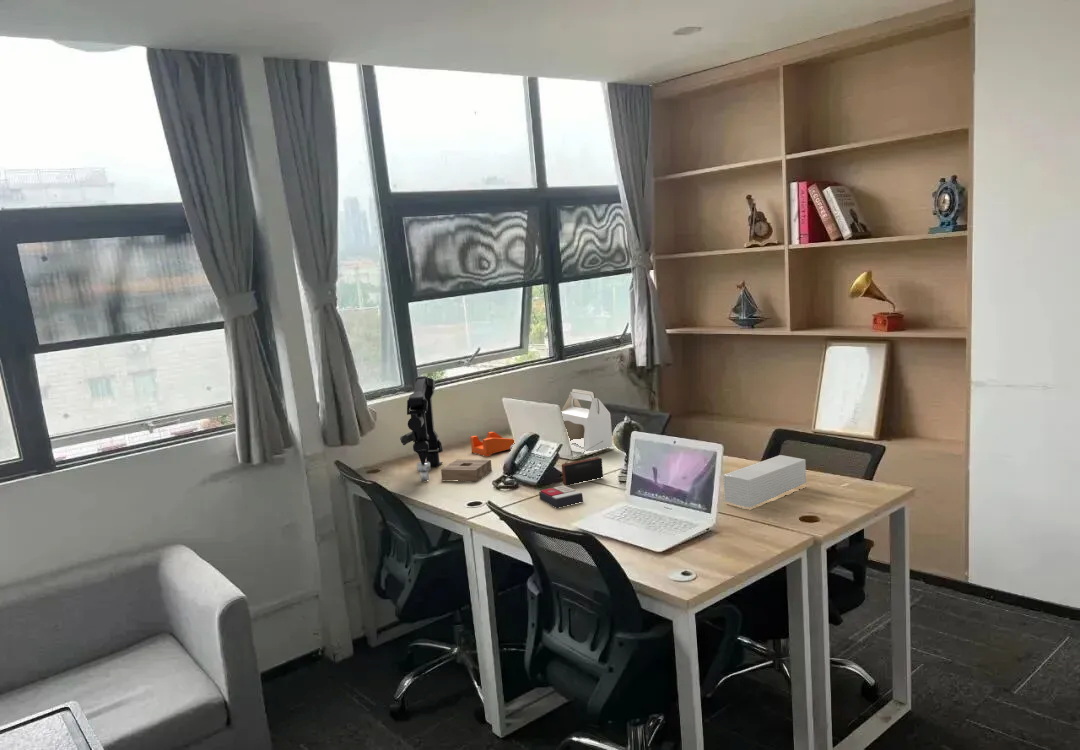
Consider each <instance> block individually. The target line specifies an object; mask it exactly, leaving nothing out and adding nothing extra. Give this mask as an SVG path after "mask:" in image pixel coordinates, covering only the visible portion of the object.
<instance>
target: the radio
mask: <svg viewBox="0 0 1080 750" xmlns="http://www.w3.org/2000/svg"><path fill="white" fill-rule="evenodd" d="M601 442H603V441H601ZM601 442H600V443H601ZM598 444H599V443H598ZM595 446H596V445H595ZM593 447H594V446H593ZM591 448H592V447H591ZM589 449H590V448H589ZM589 449H588V450H589ZM586 451H587V450H586ZM584 452H585V451H584ZM584 452H583V453H584ZM580 455H583V454H582V453H578V454H577V455H576V456H574V457H572V458H570V459H569V460H567V461H565V462H564V463H562V464H561V473H562V474H561V475H562V485H563V484H564V486H565V485H570V484H574V483H579V482H583V481H588V480H592V479H597V478H601V477H603V478H604V471H603V459H602V458H601V457H598V456H596V457H591V458H587V459H581V460H576V461H571V460H573V459H576V458H577V457H578V456H580Z"/></svg>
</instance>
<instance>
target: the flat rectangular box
mask: <svg viewBox="0 0 1080 750" xmlns="http://www.w3.org/2000/svg"><path fill="white" fill-rule="evenodd" d="M538 493H539V494H538V495H539V496H538V497H539V499H540V500H542V501H543V502H545V503H546V502H547V504H548V503H549V505H551V506H552V507H553V506H554V508H555V507H556V508H555V509H560V508H559V507H562V508H564V507H563V506H566V507H568V506H567V505H570V506H572V505H571V504H575V503H579V502H583V503H584V498H583V497H584V495H583V493H582V492H580V491H578V490H576V489H574V488H571V487H570V486H565V485H563V484H562V485H559V486H555V487H553V488H552V487H549V488H546V489H541V490H540V491H539V492H538ZM579 504H580V503H579ZM575 505H576V504H575Z"/></svg>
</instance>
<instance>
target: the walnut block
mask: <svg viewBox="0 0 1080 750" xmlns="http://www.w3.org/2000/svg"><path fill="white" fill-rule="evenodd" d="M489 472H490V473H492V460H491V459H474V458H473V459H471V458H470V459H468V458H467V459H466V458H465V459H462V458H461V459H460V458H459V459H458V458H457V459H455V460H454V461H452V462H450V463H449V464H448V465H445V467H442V468H441V469H440V475H441V481H442V480H458V481H457V482H465V481H477V482H478V481H480V480H481V479H483V478H484V477H486V476H487V475H488V474H489ZM486 474H487V475H486ZM482 477H483V478H482ZM479 479H480V480H479Z"/></svg>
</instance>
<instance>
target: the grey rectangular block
mask: <svg viewBox="0 0 1080 750" xmlns="http://www.w3.org/2000/svg"><path fill="white" fill-rule="evenodd" d="M806 464H807V463H806V458H805V459H804V458H799V457H794V456H788V455H782V454H779V455H776V456H774V457H773V456H772V457H771V458H768V459H765V460H761V461H760V462H757V463H754V464H751V465H747V466H745V467H742V468H739V469H735V470H733V471H731V472H728V473H724V474H722V475H723V476H722V477H723V495H724V497H723V498H724V503H725V502H729V503H733V504H736V505H740V506H744V507H749V508H750V507H753V506H755V505H757V504H760V503H762V502H764V501H767V500H769V499H771V498H774V497H776V496H778V495H780V494H782V493H784V492H786V491H789V490H791V489H793V488H796V487H798V486H800V485H802V484H804V483H806V484H807V468H806V467H807V466H806Z"/></svg>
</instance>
